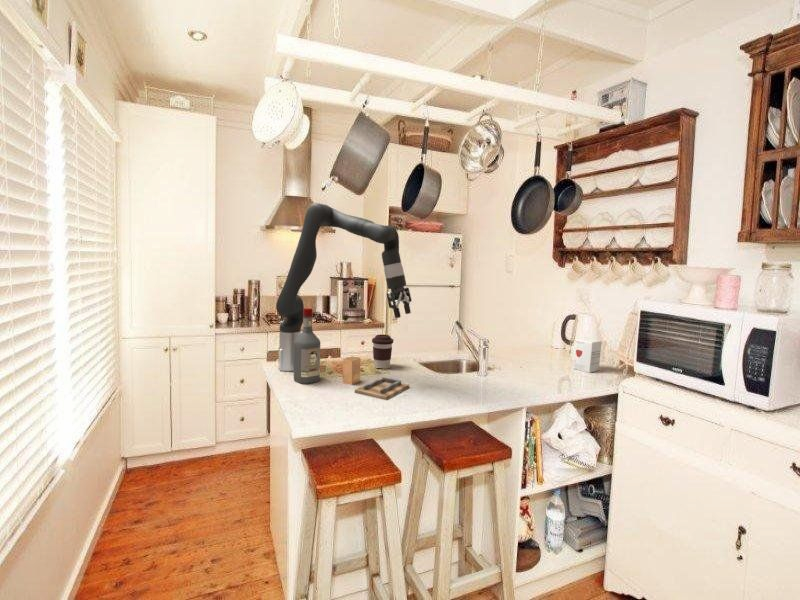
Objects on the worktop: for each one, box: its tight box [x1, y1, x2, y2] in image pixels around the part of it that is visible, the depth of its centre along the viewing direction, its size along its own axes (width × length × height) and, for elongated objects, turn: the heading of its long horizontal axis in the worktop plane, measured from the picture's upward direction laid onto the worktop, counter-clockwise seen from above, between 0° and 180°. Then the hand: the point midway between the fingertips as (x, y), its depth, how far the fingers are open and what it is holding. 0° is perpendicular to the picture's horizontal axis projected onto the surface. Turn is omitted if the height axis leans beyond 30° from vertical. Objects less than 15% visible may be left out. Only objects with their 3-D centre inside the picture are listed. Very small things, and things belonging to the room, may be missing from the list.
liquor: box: [293, 307, 321, 385], centre depth 181 cm, size 9×9×30 cm
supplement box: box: [572, 337, 603, 374], centre depth 217 cm, size 9×9×15 cm
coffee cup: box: [371, 333, 394, 370], centre depth 206 cm, size 10×10×15 cm
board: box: [354, 376, 410, 401], centre depth 175 cm, size 18×14×3 cm
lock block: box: [342, 356, 362, 386], centre depth 183 cm, size 6×4×10 cm
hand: (403, 315), depth 176 cm, fingers open, 8 cm apart
